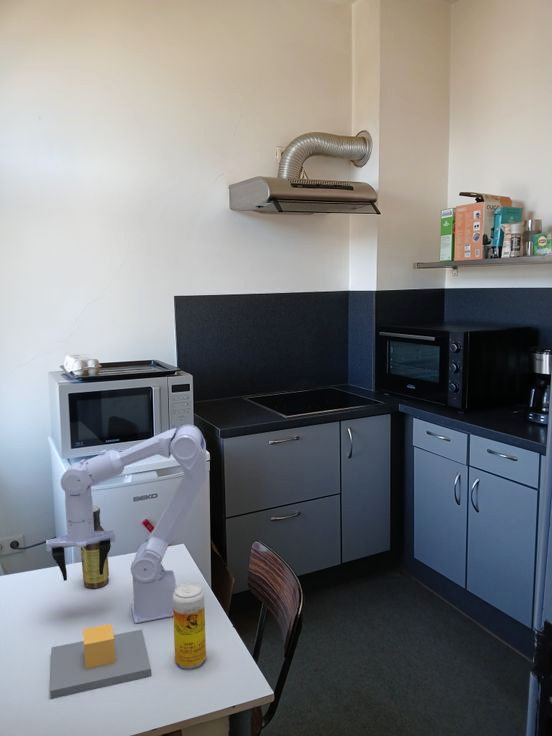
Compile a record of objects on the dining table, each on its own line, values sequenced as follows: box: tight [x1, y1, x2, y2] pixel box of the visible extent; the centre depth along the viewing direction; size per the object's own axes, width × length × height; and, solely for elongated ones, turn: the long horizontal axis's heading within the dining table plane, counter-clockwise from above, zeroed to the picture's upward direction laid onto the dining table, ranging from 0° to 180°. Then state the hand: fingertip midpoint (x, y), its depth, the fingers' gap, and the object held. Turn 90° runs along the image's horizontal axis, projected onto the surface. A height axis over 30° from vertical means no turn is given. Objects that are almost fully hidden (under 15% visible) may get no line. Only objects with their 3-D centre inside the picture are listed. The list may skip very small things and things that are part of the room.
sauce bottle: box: [80, 505, 110, 589], centre depth 148 cm, size 6×6×20 cm
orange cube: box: [82, 623, 115, 669], centre depth 117 cm, size 6×6×5 cm
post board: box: [49, 629, 152, 699], centre depth 117 cm, size 18×14×5 cm
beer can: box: [172, 582, 207, 670], centre depth 117 cm, size 6×6×15 cm
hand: (83, 575), depth 134 cm, fingers open, 7 cm apart
